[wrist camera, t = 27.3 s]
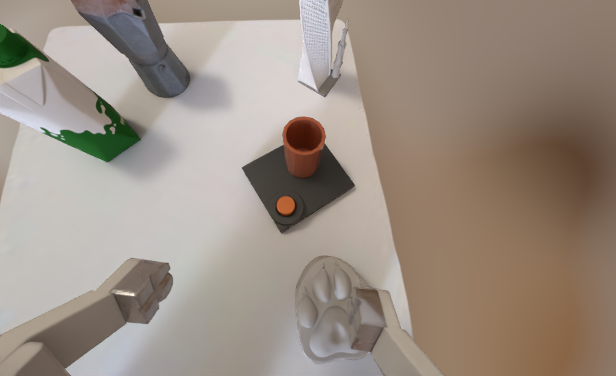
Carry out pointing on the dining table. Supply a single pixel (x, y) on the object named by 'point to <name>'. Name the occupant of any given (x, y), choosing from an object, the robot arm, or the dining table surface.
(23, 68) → the milk carton
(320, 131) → the cup
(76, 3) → the moka pot
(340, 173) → the dark grey flat block
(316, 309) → the lumpy-topped squat cylinder
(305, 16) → the skyscraper
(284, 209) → the button
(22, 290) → the dining table surface
